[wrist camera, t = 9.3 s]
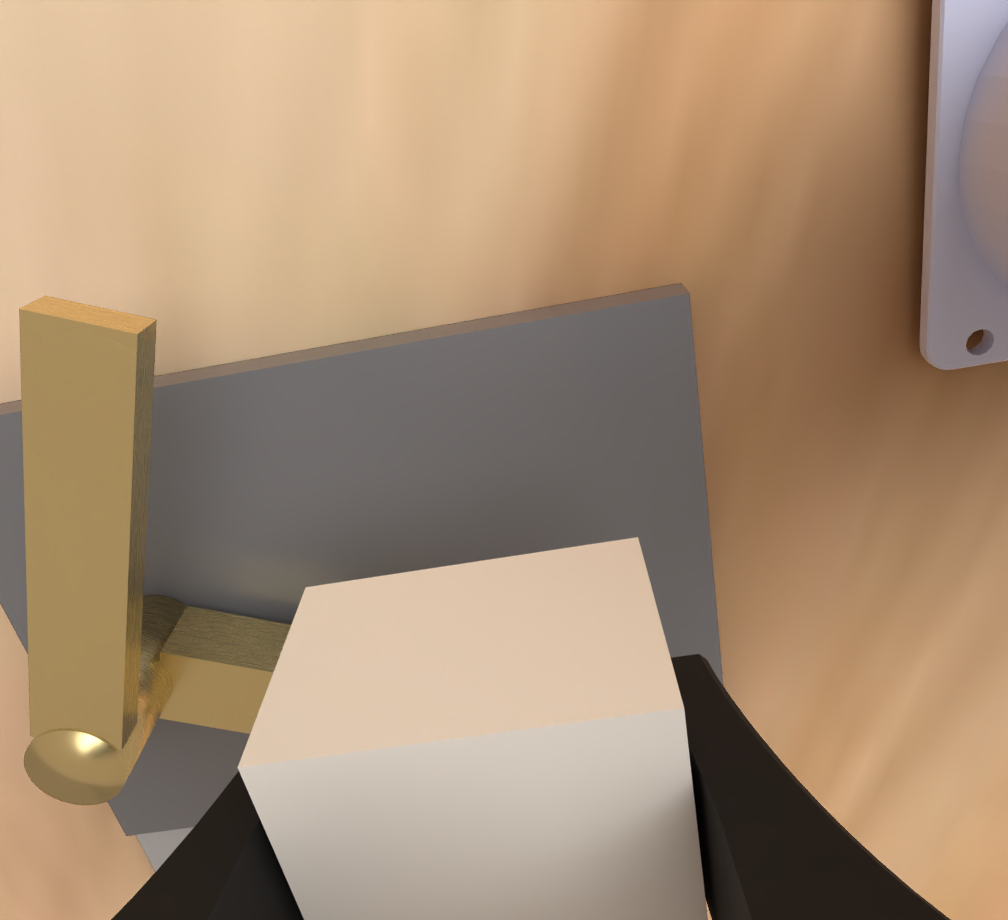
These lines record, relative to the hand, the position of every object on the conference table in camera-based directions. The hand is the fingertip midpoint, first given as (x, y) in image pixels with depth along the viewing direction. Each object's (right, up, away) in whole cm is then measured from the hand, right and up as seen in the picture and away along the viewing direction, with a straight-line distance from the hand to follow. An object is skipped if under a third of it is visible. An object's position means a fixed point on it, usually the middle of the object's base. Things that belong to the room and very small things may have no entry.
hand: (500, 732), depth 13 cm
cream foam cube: (0, 0, +1) cm, 1 cm away
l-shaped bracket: (-2, +3, +5) cm, 6 cm away
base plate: (-3, +1, +7) cm, 8 cm away
